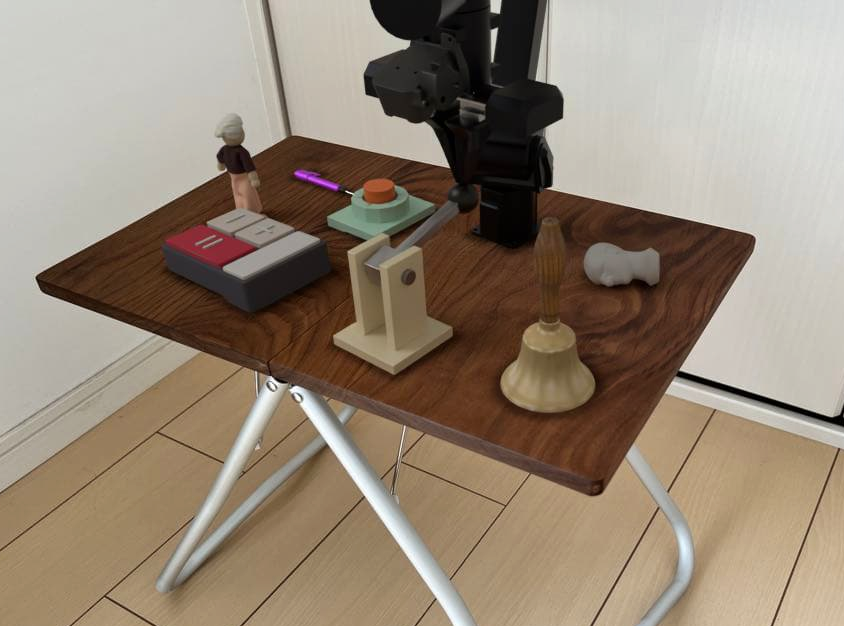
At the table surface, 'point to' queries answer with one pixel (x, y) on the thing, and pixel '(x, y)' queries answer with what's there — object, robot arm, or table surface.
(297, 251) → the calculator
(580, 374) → the hand bell
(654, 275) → the smooth white sculpture
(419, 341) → the bracket
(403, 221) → the button box
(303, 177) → the purple fountain pen
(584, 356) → the table surface
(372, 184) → the button
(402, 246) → the lever
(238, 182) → the grandmother figurine
